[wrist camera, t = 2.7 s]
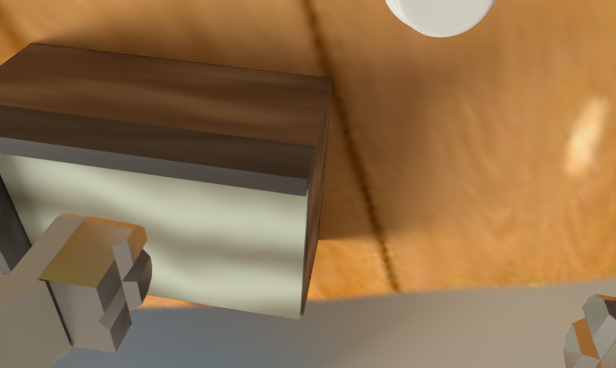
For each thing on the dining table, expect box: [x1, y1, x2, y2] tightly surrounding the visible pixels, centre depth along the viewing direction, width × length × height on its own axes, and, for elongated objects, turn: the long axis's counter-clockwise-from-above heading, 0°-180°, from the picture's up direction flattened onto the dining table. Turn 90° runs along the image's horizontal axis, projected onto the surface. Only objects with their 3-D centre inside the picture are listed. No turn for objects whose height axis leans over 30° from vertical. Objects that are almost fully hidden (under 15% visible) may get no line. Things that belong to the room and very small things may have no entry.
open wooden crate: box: [0, 43, 332, 319], centre depth 37 cm, size 16×22×11 cm
